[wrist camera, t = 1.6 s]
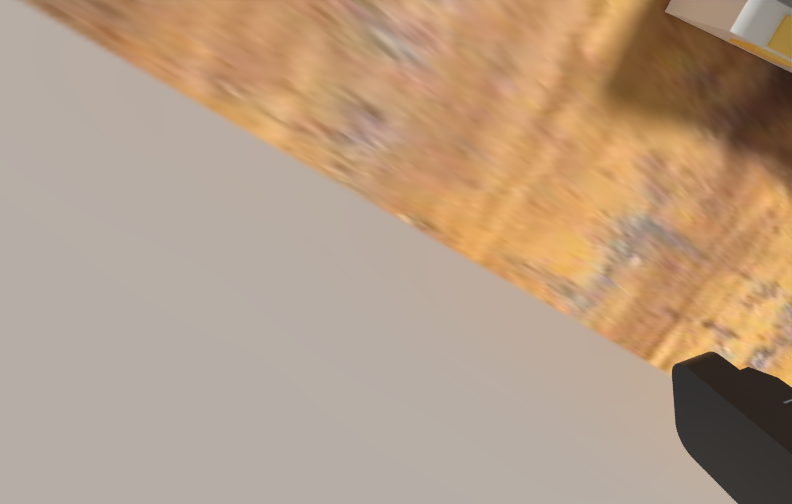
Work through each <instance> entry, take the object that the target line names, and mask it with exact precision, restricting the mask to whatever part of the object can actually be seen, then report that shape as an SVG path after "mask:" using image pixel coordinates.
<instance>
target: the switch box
mask: <svg viewBox="0 0 792 504" xmlns="http://www.w3.org/2000/svg"><path fill="white" fill-rule="evenodd" d="M665 12H666V13H668V14H670V15H672V16H674V17H677V18H679V19H681V20H683V21H685V22H687V23H689V24H691V25H693V26H695V27H697V28H699V29H701V30H704V31H706V32H708V33H710V34H712V35H714V36H716V37H718V38H720V39H722V40H724V41H726V42H729V43H731V44H733V45H735V46H737V47H739V48H741V49H743V50H745V51H747V52H749V53H751V54H753V55H756V56H758V57H760V58H762V59H764V60H766V61H768V62H770V63H772V64H774V65H776V66H778V67H781V68H783V69H785V70H787V71H789V72H791V73H792V0H671V1H670V2H669V4H668V6H667V8H666V10H665Z"/></svg>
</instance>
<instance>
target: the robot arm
mask: <svg viewBox="0 0 792 504" xmlns="http://www.w3.org/2000/svg"><path fill="white" fill-rule="evenodd" d="M672 381H673V395H674V408H675V422H676V428H677V432H678V435H679V437H680V440H681V442H682V444H683V446H684V447H685V449H686V450H687V452H688V453H689V454H690V455H691V457H692V458H693V459H694V460H695V461H696V462H697V463H698V464H699V465H700V466H701V467H702V468H703V469H704V470H705V471H706V472H707V473H708V474H709V475H710V476H711V477H712V478H713V479H714V480H715V481H716V482H717V483H718V484H719V485H720V486H721V487H722V488H723V489H724V490H725V491H726V492H727V493H728V494H729V495H730V496H731V497H732V498H733V499H734V500H735V501H736V502H737V503H738V504H792V387H790V386H789V385H787V384H786V383H785V382H783V381H782V380H780V379H779V378H777V377H774V376H772V375H769V374H766V373H763V372H761V371H758V370H755V369H753V368H750V367H747V368H744V369H741V370H739V369H738V368H736V367H735V366H734V365H732V364H731V363H730V362H728V361H727V360H726V359H724V358H723V357H722V356H720V355H719V354H717V353H715V352H707V353H704V354H702V355H699V356H696V357H693V358H691V359H688V360H685V361H682V362H680V363H677V364H675V365H674V366H673V369H672Z"/></svg>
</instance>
